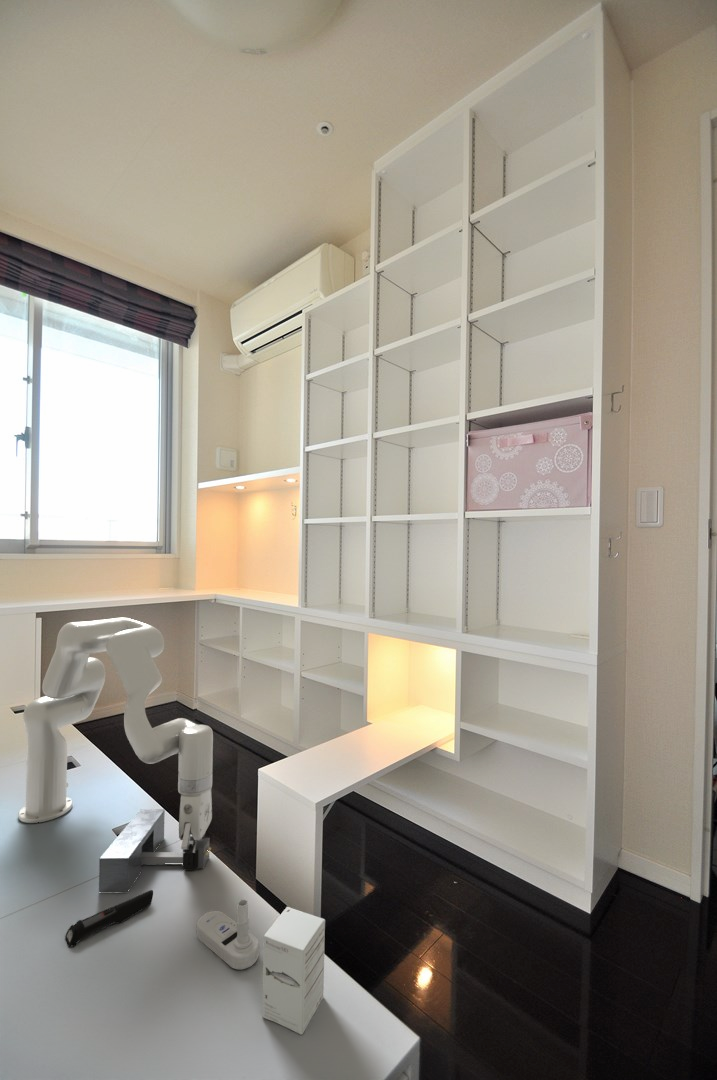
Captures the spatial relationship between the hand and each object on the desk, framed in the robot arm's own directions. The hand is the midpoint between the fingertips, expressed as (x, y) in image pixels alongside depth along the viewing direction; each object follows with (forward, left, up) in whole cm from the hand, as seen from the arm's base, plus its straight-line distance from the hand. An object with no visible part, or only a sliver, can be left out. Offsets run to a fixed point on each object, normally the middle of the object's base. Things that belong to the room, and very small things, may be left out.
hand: (194, 861), depth 114 cm
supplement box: (+41, +21, -1) cm, 46 cm away
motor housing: (-2, -13, -1) cm, 14 cm away
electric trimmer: (+16, -13, -1) cm, 21 cm away
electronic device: (+26, +9, -1) cm, 28 cm away
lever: (-1, -8, 0) cm, 8 cm away
